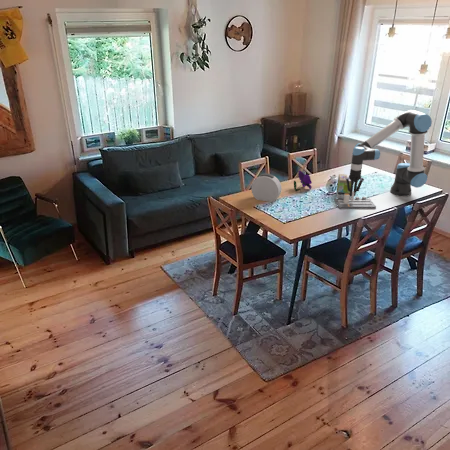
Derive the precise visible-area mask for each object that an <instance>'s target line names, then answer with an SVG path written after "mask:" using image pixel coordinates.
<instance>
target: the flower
mask: <svg viewBox="0 0 450 450" xmlns="http://www.w3.org/2000/svg"><path fill="white" fill-rule="evenodd" d="M297 174H298V179H299V180H300V184H301V185H299V186H298V185H297V181H296V180H293V189H294V191H296V192H297V191H301V188H300V187H301V186H302V188H305V187H307V188H309V190H311V189H312V185H311V184H312V183H313V182H312V179H311V176H310V174H305V173H304V172H303V171H302V170H298V173H297ZM297 186H298V187H297Z"/></svg>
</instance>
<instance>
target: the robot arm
mask: <svg viewBox="0 0 450 450" xmlns="http://www.w3.org/2000/svg"><path fill="white" fill-rule="evenodd" d="M432 122H433V121H432V118H431V115H429V114H428V113H425V112H423V111H422V112H421V111H418V110H415V109H409V110H407V111H404V112H402V113H400V114H399V115H397V116H396V117H394V118H393V120H392V121H391V122H390V123H389V124H387V125H386V126H384V127H383V128H381V129H380V130H379V131H377V132H376V133H374V134H373V135H371V136H370V137H369V138H368V139H366V140H365V141H364V142H358V143H356V144H355V145H354V147H353V150H352V155H351V163H350V169H349V170H350V171H349V174H348V175H349V177H348V178H345V179H346V181H347V188H348V191H350V196H351V197H350V200H351V201H353V199H355V197H356V194H357V192H359V191H360V189H361V186H362V183H363V182H364V180H365V179H364V178H363V177H362V168H363V163H364V162H365V161H376V160H379V159H380V157H381V151H380V150H379V149H378V148H375V147H377V146H379V145H380V144H381V143H382V142H384V141H385V140H387V139H388V138H390V137H391V136H392V135H394V134H395V133H396V132H398V131H399V130H403V129H405V128H407V127H408V128H409V129H408V131H409V132H408V133H409V134H410V136H411V137H410V138H411V139H410V153H409V155H410V156H409V162H404V163H403V162H402V163H400V162H399V163H398V164H397V166H396V171H395V175H394V176H395V177H394V181H393V184H392V185H391V187H390V190H389V191H390V193H391V194H392V195H393V194H394V195H396V196H403V197H405V196H410V195H411V194H412V187H414V188H421V187H423V186H424V185H425V184H426V183H427V181H428V175H427V174H426V173H425V167H424V165H423V163H424V151H425V150H424V149H425V139H426V138H425V137H426V134H427V133H428V131H429V129H430V128H431V127H432V125H433V123H432ZM349 179H350V180H351V187H350V185H349ZM358 181H359V182H358Z"/></svg>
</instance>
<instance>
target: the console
mask: <svg viewBox="0 0 450 450" xmlns="http://www.w3.org/2000/svg"><path fill="white" fill-rule="evenodd" d="M343 201H344V199H340V198H334V203H335V204H336V206H337V205H338V206H337V207H338V209H340V210H341V209H343V210H346V209H347V210H349V209H351V210H353V209H357V210H358V209H359V210H360V209H363V210H365V209H367V210H368V209H370V210H371V209H377V206H376V205H375V203H374V202H373V201H372V199H371V198H367V196H362V198H360V197H359V196H354V199H353V201H351V200H350V199H349V203H344V202H343Z"/></svg>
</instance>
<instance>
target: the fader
mask: <svg viewBox="0 0 450 450" xmlns="http://www.w3.org/2000/svg"><path fill="white" fill-rule="evenodd" d="M349 196H350V195H349V194H344V201H343V202H344V203H349Z"/></svg>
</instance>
